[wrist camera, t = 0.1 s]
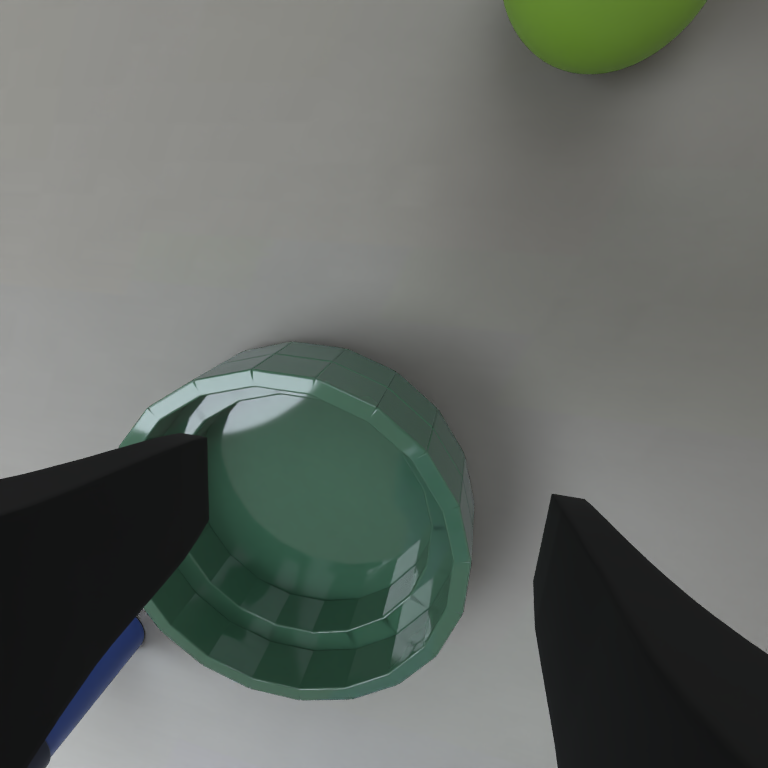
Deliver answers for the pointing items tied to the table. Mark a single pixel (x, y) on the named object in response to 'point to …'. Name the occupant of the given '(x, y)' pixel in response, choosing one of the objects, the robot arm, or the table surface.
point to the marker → (91, 690)
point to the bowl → (317, 524)
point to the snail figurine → (598, 30)
